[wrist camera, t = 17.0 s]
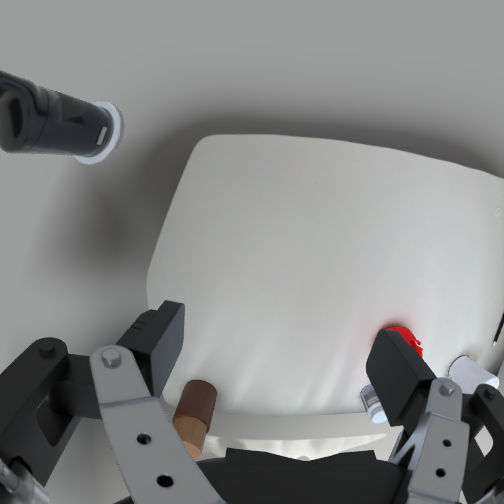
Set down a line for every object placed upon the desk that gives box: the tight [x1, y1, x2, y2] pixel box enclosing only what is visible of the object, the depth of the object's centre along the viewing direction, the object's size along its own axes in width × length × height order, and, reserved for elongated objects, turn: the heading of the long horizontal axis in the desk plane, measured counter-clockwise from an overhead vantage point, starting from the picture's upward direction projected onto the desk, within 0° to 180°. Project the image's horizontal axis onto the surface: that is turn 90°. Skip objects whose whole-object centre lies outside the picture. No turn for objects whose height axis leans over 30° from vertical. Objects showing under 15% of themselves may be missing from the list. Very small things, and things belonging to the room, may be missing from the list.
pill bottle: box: [361, 385, 387, 423], centre depth 46 cm, size 5×5×8 cm
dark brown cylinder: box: [173, 380, 217, 434], centre depth 45 cm, size 7×7×14 cm
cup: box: [449, 356, 499, 394], centre depth 42 cm, size 10×10×13 cm
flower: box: [386, 327, 423, 357], centre depth 43 cm, size 8×8×8 cm
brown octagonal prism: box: [173, 415, 207, 458], centre depth 39 cm, size 6×6×6 cm
